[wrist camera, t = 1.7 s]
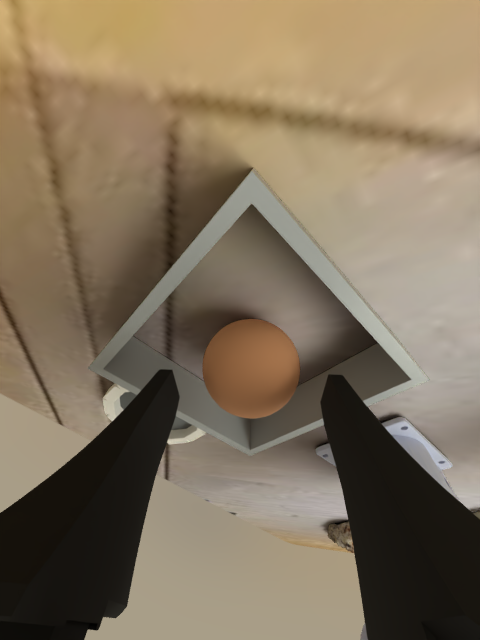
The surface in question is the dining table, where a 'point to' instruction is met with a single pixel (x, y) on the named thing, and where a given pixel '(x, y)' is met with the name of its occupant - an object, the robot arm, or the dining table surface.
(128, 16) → the dining table surface
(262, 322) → the orange ball
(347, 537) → the mineral rock
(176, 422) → the ring
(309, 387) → the low pen
